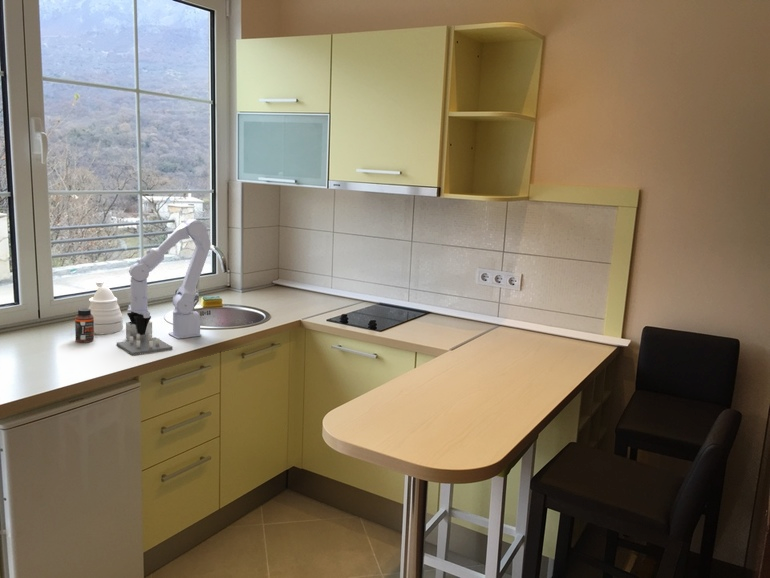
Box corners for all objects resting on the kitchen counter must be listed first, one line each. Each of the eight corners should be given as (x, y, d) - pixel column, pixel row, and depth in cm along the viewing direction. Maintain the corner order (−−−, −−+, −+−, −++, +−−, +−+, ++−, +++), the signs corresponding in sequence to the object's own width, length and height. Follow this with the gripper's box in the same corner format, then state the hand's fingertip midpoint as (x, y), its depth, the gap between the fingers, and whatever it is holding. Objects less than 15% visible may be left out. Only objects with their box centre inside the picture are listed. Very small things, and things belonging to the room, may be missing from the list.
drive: (147, 335, 239) (147, 319, 238) (152, 338, 236) (152, 321, 235) (126, 338, 234) (125, 321, 233) (130, 341, 231) (130, 324, 230)
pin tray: (155, 340, 234) (155, 330, 234) (172, 349, 224) (172, 339, 224) (116, 345, 225) (116, 335, 224) (132, 355, 215) (132, 345, 214)
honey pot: (77, 330, 240) (76, 282, 237) (104, 323, 252) (103, 278, 249) (104, 335, 236) (103, 287, 232) (130, 328, 248) (129, 282, 244)
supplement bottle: (86, 343, 225) (86, 312, 222) (71, 341, 226) (70, 310, 224) (97, 339, 230) (97, 308, 228) (82, 337, 231) (82, 306, 229)
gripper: (120, 293, 235) (120, 329, 237) (135, 301, 224) (136, 339, 227) (139, 292, 240) (139, 327, 242) (155, 299, 229) (155, 336, 232)
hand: (139, 333), depth 235 cm, fingers closed on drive, 4 cm apart
